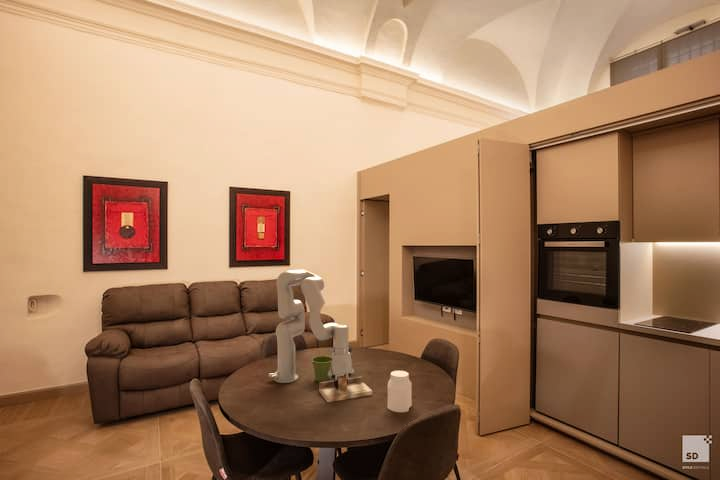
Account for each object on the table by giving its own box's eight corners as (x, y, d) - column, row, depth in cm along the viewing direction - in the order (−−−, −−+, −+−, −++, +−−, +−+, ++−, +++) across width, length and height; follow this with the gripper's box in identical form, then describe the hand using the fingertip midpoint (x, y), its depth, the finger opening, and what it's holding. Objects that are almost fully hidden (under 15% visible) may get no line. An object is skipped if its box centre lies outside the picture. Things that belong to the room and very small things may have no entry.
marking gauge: (342, 394, 176) (342, 381, 176) (335, 386, 186) (335, 374, 186) (350, 393, 177) (350, 380, 177) (342, 385, 188) (342, 373, 188)
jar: (393, 400, 174) (393, 368, 175) (413, 403, 171) (412, 370, 171) (385, 410, 164) (385, 376, 164) (406, 413, 160) (406, 379, 160)
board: (327, 402, 172) (327, 392, 172) (319, 391, 185) (319, 382, 185) (372, 394, 181) (372, 385, 181) (361, 384, 194) (361, 376, 194)
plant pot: (307, 381, 199) (307, 360, 199) (319, 374, 209) (319, 354, 209) (325, 385, 193) (325, 363, 193) (337, 378, 204) (337, 357, 204)
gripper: (327, 354, 178) (327, 392, 178) (359, 350, 184) (359, 387, 184) (322, 349, 185) (322, 386, 184) (353, 346, 191) (353, 382, 191)
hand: (340, 386), depth 184 cm, fingers closed on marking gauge, 4 cm apart
